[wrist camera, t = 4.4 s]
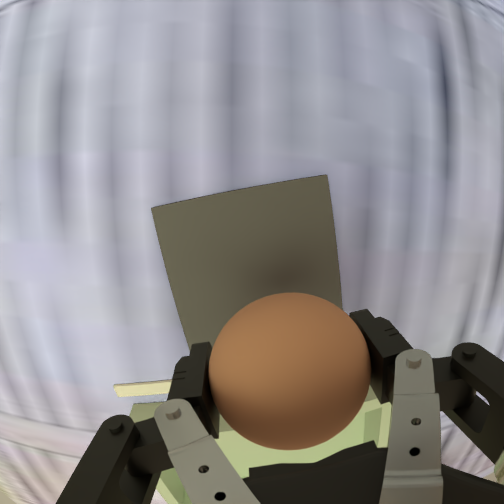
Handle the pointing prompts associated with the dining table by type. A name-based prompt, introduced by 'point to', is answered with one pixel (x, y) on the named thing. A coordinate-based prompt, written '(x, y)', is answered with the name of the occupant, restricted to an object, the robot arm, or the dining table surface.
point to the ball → (289, 371)
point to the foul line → (143, 388)
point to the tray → (253, 455)
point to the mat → (247, 250)
